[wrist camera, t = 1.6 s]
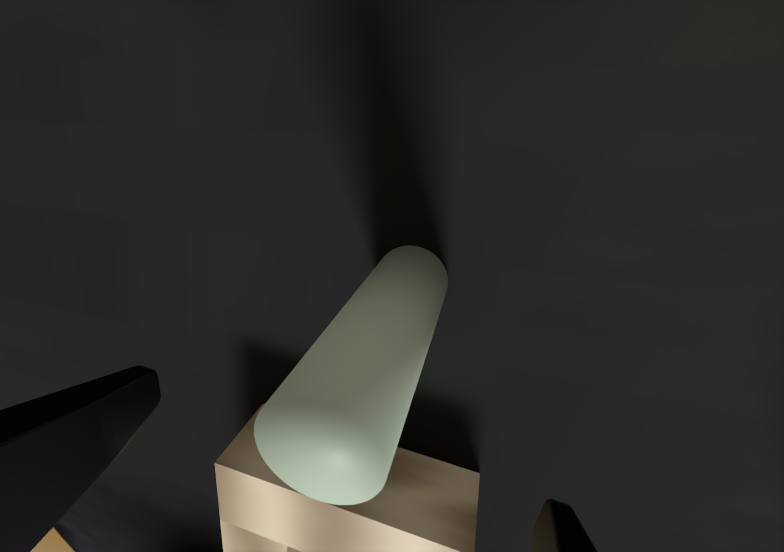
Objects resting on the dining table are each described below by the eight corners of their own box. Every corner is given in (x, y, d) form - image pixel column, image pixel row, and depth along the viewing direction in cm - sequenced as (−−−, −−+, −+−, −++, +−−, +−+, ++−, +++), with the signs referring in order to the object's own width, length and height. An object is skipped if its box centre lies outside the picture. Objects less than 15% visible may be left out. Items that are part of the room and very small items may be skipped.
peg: (454, 254, 15) (397, 421, 7) (440, 319, 16) (378, 522, 8) (381, 238, 16) (252, 377, 8) (373, 302, 17) (255, 478, 9)
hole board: (479, 473, 19) (473, 556, 16) (433, 609, 25) (421, 692, 21) (262, 403, 21) (214, 462, 18) (265, 543, 27) (229, 609, 23)
